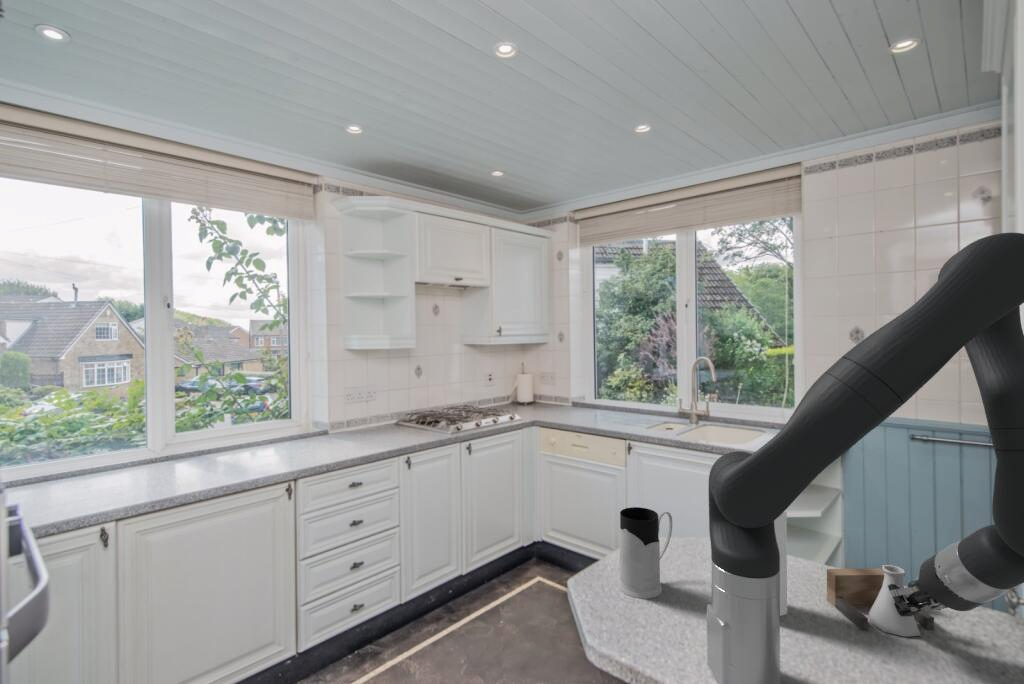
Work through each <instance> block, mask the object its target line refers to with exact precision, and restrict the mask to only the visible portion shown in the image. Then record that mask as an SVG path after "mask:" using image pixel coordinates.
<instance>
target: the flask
mask: <svg viewBox="0 0 1024 684" xmlns="http://www.w3.org/2000/svg"><path fill="white" fill-rule="evenodd" d="M881 566H882V567H881V568H883V571H884V581H883V585H882V588H881V590H880V592H879V594H878V596H877V599H876V600H875V602H874V604H873V606H872V607H870V610H869V611H868V620H869V623H871V624H872V625H874V626H876V628H877V629H879V630H881V631H882V632H884V633H888V634H892V635H896V636H901V637H916V636H921V633H920V630H919V627H918V623H917V622H916V621H915V619H914V616H913V615H912V616H900V615H899V614H898V612H897V610H896V608H895V606H894V603H895V601H894V599H893V597H892V594H891V592H890V590H889V588H888V585H890V584H896V585H897V586H901V588H905V586H904V577H905V576H906V571H905V569H903V568H901V567H900V566H898V565H897V566H896V565H891V564H884V565H883V564H882V565H881Z"/></svg>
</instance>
